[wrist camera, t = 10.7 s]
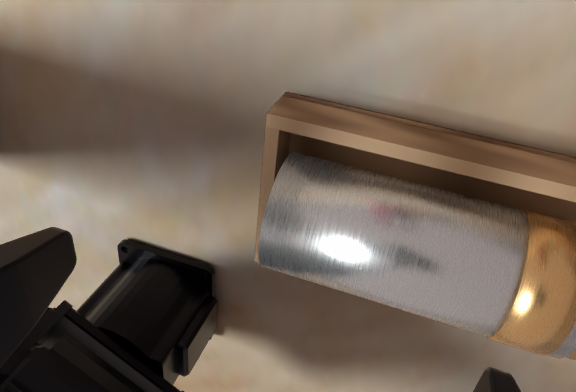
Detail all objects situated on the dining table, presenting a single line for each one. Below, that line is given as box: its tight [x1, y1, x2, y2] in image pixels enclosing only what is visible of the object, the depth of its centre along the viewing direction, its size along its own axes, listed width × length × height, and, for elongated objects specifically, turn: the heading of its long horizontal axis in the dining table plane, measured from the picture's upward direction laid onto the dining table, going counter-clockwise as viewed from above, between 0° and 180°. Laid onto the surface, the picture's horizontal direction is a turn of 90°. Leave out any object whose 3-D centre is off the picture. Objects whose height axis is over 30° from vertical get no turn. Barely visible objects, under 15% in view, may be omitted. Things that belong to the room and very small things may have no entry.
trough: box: [254, 92, 576, 360], centre depth 21 cm, size 15×8×2 cm, turn 85°
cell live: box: [258, 152, 576, 359], centre depth 20 cm, size 13×5×5 cm, turn 85°
